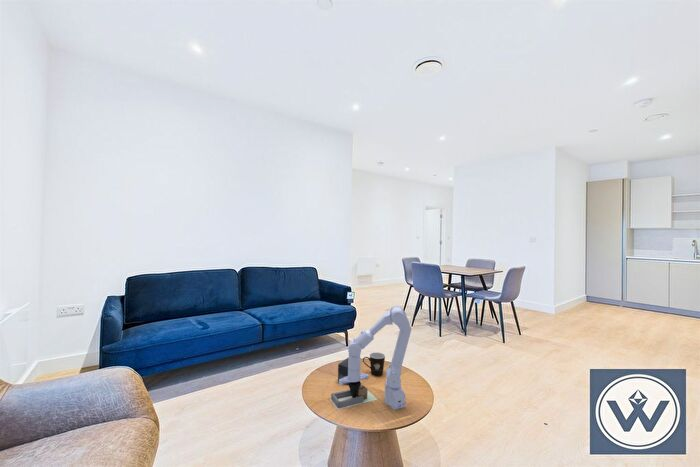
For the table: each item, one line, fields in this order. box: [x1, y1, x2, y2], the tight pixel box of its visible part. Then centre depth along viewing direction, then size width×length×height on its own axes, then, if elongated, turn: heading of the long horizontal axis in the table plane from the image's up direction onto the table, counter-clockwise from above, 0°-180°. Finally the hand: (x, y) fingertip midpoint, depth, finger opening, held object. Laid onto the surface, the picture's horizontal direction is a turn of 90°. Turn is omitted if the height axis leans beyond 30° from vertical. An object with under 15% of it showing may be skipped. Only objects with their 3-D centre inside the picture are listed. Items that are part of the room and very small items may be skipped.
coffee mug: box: [362, 352, 386, 377], centre depth 167 cm, size 12×9×10 cm
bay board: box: [329, 389, 378, 410], centre depth 138 cm, size 9×20×4 cm, turn 116°
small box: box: [337, 356, 349, 386], centre depth 157 cm, size 11×6×10 cm, turn 149°
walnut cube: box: [356, 384, 369, 399], centre depth 140 cm, size 4×4×4 cm
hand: (353, 397), depth 138 cm, fingers closed
